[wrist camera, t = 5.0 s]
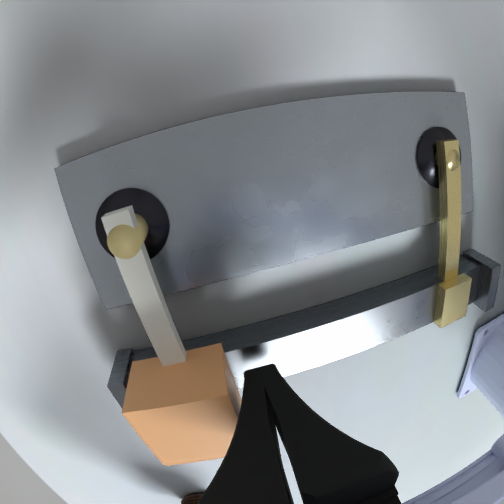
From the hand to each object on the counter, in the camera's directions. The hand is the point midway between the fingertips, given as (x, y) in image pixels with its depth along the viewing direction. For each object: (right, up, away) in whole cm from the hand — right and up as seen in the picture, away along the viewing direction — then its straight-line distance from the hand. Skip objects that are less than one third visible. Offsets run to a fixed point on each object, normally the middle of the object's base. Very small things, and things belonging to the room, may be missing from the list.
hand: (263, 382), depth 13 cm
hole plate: (+2, +8, 0) cm, 9 cm away
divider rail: (+2, +5, +2) cm, 6 cm away
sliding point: (-4, +3, 0) cm, 5 cm away
